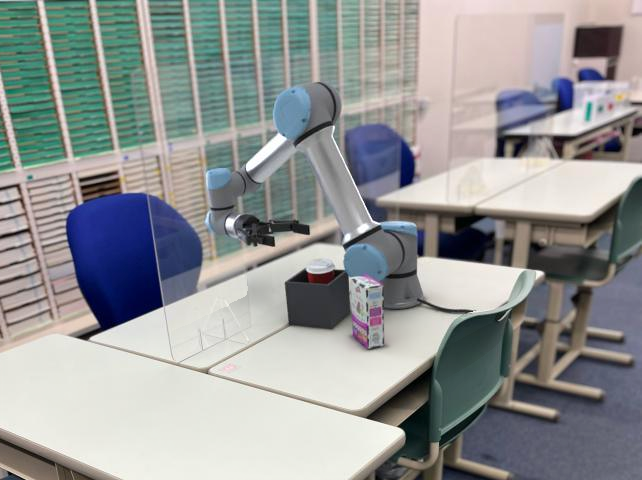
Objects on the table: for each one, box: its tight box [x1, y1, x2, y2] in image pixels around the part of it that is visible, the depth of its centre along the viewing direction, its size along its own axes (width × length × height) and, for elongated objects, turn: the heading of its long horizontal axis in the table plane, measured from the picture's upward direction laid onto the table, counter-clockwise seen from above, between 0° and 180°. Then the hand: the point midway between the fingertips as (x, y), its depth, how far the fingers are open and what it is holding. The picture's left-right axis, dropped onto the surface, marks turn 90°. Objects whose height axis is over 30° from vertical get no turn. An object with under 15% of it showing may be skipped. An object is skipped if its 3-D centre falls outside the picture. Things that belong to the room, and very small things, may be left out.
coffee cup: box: [305, 258, 336, 284], centre depth 200 cm, size 8×8×15 cm
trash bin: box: [284, 267, 351, 330], centre depth 200 cm, size 14×14×13 cm
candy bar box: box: [349, 275, 385, 350], centre depth 181 cm, size 11×5×16 cm, turn 18°
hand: (291, 235), depth 197 cm, fingers open, 13 cm apart
